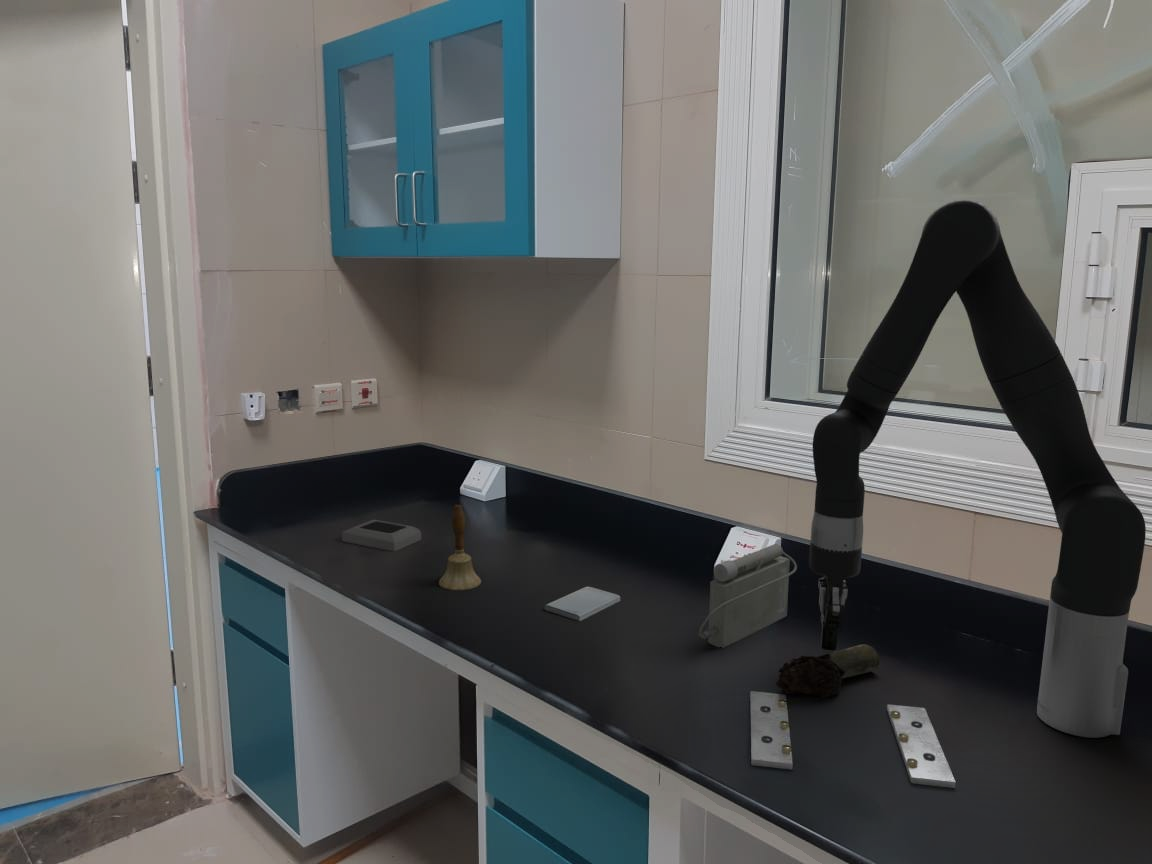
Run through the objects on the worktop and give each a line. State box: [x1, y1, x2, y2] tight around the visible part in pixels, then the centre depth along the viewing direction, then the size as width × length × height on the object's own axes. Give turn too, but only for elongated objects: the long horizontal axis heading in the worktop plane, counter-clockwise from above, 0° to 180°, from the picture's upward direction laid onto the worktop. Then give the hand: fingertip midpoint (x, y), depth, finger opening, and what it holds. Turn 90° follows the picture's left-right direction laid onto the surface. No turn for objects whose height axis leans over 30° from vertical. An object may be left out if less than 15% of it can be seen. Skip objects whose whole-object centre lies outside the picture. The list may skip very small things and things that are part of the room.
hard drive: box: [544, 586, 621, 622], centre depth 158 cm, size 2×8×12 cm
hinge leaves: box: [749, 690, 956, 789], centre depth 113 cm, size 24×18×1 cm
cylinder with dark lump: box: [775, 643, 880, 699], centre depth 128 cm, size 18×7×6 cm, turn 120°
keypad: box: [341, 519, 422, 552], centre depth 194 cm, size 10×4×15 cm
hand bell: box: [438, 504, 482, 591], centre depth 167 cm, size 8×8×16 cm
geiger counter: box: [698, 543, 798, 649], centre depth 144 cm, size 14×6×25 cm
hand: (828, 647), depth 132 cm, fingers closed
